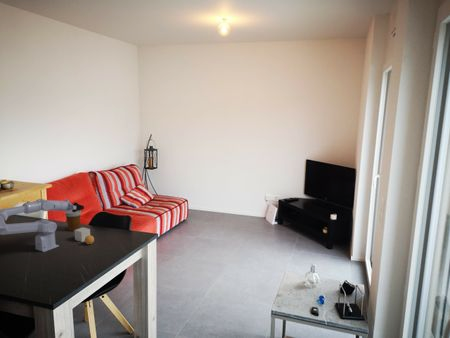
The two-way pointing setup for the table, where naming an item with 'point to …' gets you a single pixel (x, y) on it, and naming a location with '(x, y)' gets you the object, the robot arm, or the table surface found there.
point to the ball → (89, 239)
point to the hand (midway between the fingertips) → (79, 207)
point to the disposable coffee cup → (73, 220)
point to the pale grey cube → (81, 234)
